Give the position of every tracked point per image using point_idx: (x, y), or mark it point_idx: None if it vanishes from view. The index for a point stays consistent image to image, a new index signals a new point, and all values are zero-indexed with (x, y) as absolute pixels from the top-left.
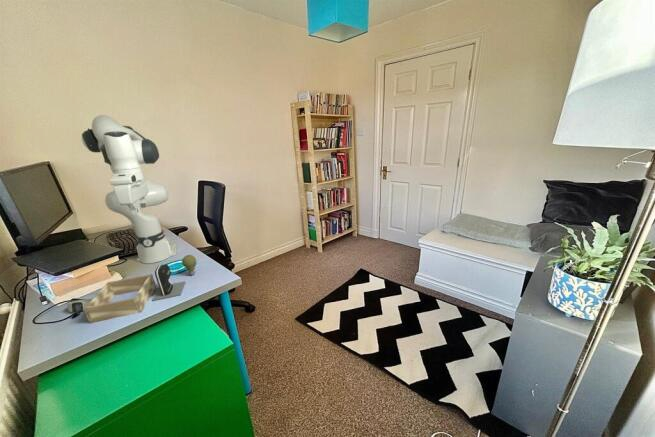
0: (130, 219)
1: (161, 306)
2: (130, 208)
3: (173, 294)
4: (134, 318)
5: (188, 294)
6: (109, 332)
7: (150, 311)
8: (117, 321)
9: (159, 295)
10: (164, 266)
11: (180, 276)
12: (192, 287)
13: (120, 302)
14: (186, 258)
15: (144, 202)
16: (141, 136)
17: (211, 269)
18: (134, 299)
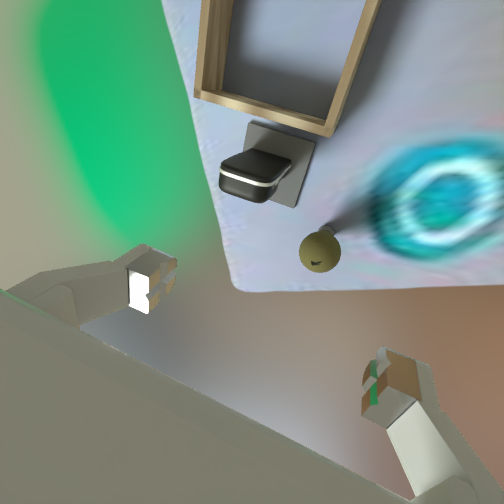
0: None
1: (214, 142)
2: (82, 273)
3: None
4: None
5: (231, 202)
6: (169, 24)
7: (207, 117)
8: None
9: (259, 141)
10: (240, 194)
11: (343, 202)
12: (257, 215)
13: (198, 49)
14: (306, 253)
15: (391, 429)
16: None
17: (319, 273)
18: (194, 90)
